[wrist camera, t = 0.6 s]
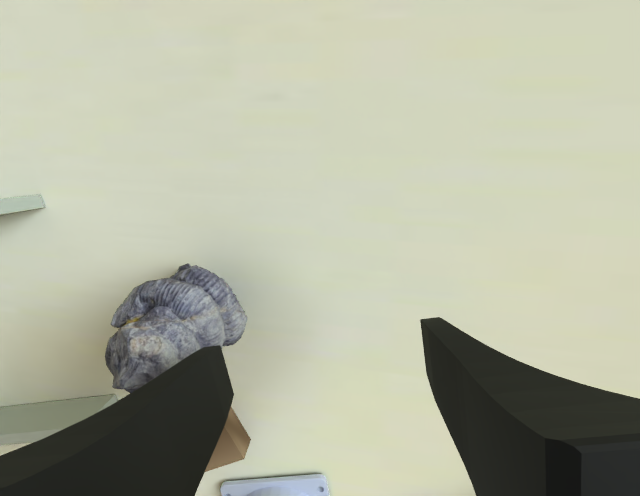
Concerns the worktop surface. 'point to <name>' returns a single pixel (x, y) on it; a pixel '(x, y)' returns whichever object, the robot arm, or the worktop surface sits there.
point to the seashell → (171, 324)
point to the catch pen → (46, 416)
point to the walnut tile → (230, 443)
